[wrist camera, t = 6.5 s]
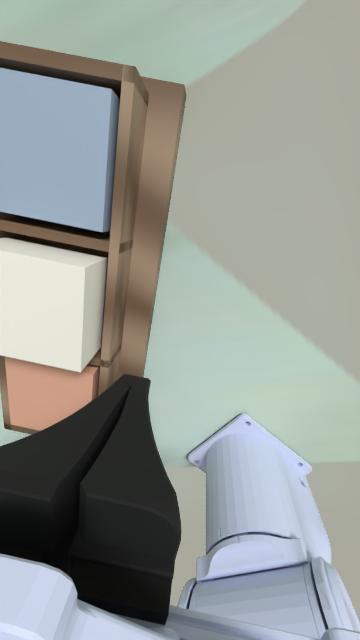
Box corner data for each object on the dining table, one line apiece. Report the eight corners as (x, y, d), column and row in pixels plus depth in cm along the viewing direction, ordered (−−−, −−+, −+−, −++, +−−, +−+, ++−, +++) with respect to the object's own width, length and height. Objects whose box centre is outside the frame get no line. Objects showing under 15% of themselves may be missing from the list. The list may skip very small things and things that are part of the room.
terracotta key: (103, 413, 24) (89, 441, 21) (34, 398, 24) (10, 424, 21) (109, 352, 21) (93, 374, 18) (32, 336, 21) (4, 355, 18)
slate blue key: (120, 229, 18) (102, 232, 15) (27, 210, 18) (-9, 209, 15) (130, 113, 15) (111, 88, 12) (22, 92, 15) (-23, 63, 12)
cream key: (100, 347, 19) (80, 372, 16) (13, 328, 19) (-22, 350, 16) (107, 257, 16) (85, 267, 13) (7, 237, 16) (-37, 242, 13)
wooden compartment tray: (136, 421, 26) (122, 460, 22) (18, 395, 26) (-17, 429, 22) (186, 95, 16) (178, 54, 12) (-6, 59, 16) (-79, 6, 12)
